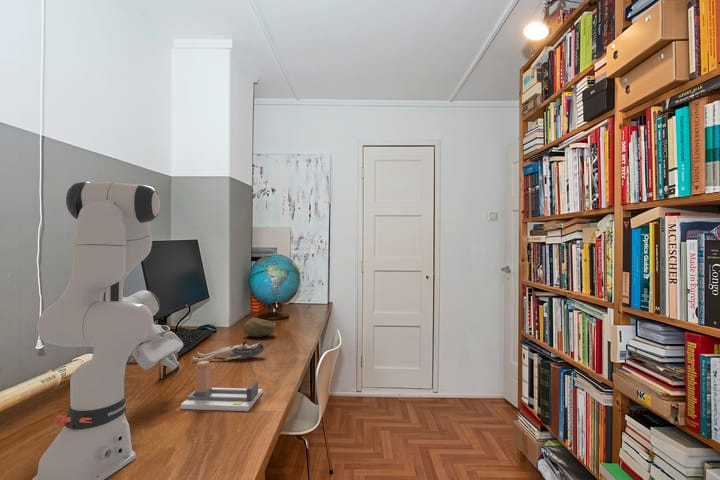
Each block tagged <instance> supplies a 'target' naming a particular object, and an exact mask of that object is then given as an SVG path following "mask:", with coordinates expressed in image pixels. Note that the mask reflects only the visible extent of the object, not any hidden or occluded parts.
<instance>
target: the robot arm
mask: <svg viewBox="0 0 720 480" xmlns="http://www.w3.org/2000/svg"><path fill="white" fill-rule="evenodd" d="M65 203H66V208H67V211H68V213H69V214H70V215H71V216H72V217H73V218H74V219H76V224H75V229H74V235H73V251H72V252H73V253H72V264H71V272H70V276H69V281H68V283H67V285H66V287H65V289H64V291H63V292H62V294H61V295H60V296H59V298H58V299H57V300H56V301H55V302H53V303H52V304H51V305H49V306H48V307H46V308H45V309H44V310H43V312H42V313H41V314H40V316H39V318H38V321H37V326H36V329H37V334H38V337H39V338H40V339H41V340H42V341H43V342H44V343H46V344H48V345H49V344H50V345H54V346H60V347H65V348H66V347H67V348H69V347H71V348H72V347H74V348H76V347H78V348H79V347H80V348H81V347H92V348H93V349H92V350H93V352H92V357H91V359H89V360H87V361H85V362H84V363H82V364H80V365H79V366H78V367H76V369H75V370H74V371H73V372H72V374H71V375H70V379H69V380H70V383H69V384H70V385H69V387H70V389H69V390H70V393H69V395H70V398H69V399H70V405H69V406H68V409H67V410H66V411H67V412H66V414H65V415H64V414H63V415H62V414H58V415H57V416H55V419H54V424H55V425H59V426H60V425H62V426H63V425H64V426H63V428H62V429H61V430H60V432H59V433H58V434H57V436H56V437H55V439H53V441H52V443H51V444H50V445H49V447H48V448H47V449H46V450H45V452H44V453H43V455H41V457H40V458H39V461H38V466H37V474H36V475H35V476H34V477H33V478H32V479H31V480H106V479H107V478H109V477H110V476H112V475H113V474H115V473H116V472H118V471H119V470H120V469H122V468H123V467H124V466H126V465H128V464H130V463H132V462H133V461H134V460H135V459H136V458H137V455H136V452H135V451H134V450H133V445H132V437H131V429H130V428H131V427H130V424H129V422H128V420H127V417H126V414H125V412H126V411H127V397H126V394H125V372H126V367H127V364H128V362H127V360H128V358H129V359H130V357H131V356H130V354H131V353H133V356H134V360H135V361H136V362H137V364H138V365H139V367H141V368H142V369H143V370H146V371H148V370H150V369H151V368H154V367H155V366H156V365H158V364H160V362H161V363H162V364H163V365H165V366H168V367H169V368H170V369H171V370H173V369H175V368H176V367H178V365H179V366H180V362H178V361H177V360H176V357H175V355H174V354H175V353H177V352H178V353H179V352H180V351H181V349H182V348H183V347H184V342H183V341H182V340H181V338H179V336H178V335H177V334H176V333H174V332H173V331H171V327H170V326H169V325H165V324H164V325H163V324H162V325H161V324H156V323H155V322H154V316H156V314H158V312H159V311H160V308H161V302H160V299H159V297H158V296H157V295H156V294H155V293H154V292H152V291H150V290H148V289H142V290H139V291H137V292H135V293H133V294H131V295H129V296H123V295H124V294H123V290H124V283H125V279H126V278H127V277H128V275H129V274H130V273H131V271H132V270H133V269H135V268H136V267H137V266H138V265H139V264H140V263H141V262H143V261H144V260H145V259H146V258H147V257H148V255H149V254H150V253H151V250H152V246H153V237H152V230H151V229H152V228H151V224H150V222H152V221H153V220H155V219H156V218H157V217H158V215H159V211H160V209H161V208H160V207H161V202H160V198H159V194H158V192H157V191H156V190H155V188H153V186H149V185H147V184H140V183H139V184H132V183H127V182H126V183H124V182H116V181H93V182H90V181H81V182H76V183H74V184H72V185H71V186H70V188H68V190H67V193H66V198H65ZM128 361H129V360H128Z"/></svg>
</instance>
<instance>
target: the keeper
mask: <svg viewBox="0 0 720 480" xmlns="http://www.w3.org/2000/svg"><path fill="white" fill-rule="evenodd" d="M194 369H195V371H194V372H195V373H194V374H195V377H194V378H195V379H194V380H195V382H194V383H195V384H194V386H195V389H194V391H195V392H194V396H209V395H210V394H211V393H212V388H213V387H212V384H211V383H212V381H211V380H212V379H211V377H212V374H211V373H212V370H211V369H212V365H211V364H210V360H204V361H199V362H196V367H195V368H194Z"/></svg>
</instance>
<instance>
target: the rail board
mask: <svg viewBox="0 0 720 480" xmlns="http://www.w3.org/2000/svg"><path fill="white" fill-rule="evenodd" d="M211 388H212V393H211V394H210V395H209V396H194V392H195V390H193V391H192V392H191V393H190V394H188V395H187V396H186V400H184V401H183V402H182V403H180V410H202V411H203V410H205V411H231V412H232V411H237V412H239V411H240V412H241V411H242V412H249V411H250V410H251V408H252V407H253V406H254V404H255V403H256V401H258V400H259V398H260V397H261V395H262V394H263V388H259V381H256V380H255V381H252V383H250V385H249V386H248V387H246V388H245V387H243V388H240V387H239V388H238V387H237V388H236V387H211Z"/></svg>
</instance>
